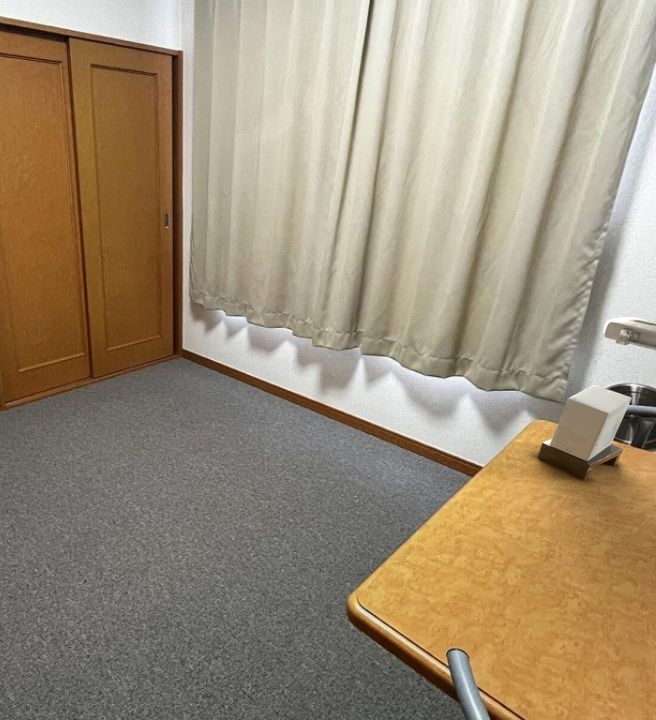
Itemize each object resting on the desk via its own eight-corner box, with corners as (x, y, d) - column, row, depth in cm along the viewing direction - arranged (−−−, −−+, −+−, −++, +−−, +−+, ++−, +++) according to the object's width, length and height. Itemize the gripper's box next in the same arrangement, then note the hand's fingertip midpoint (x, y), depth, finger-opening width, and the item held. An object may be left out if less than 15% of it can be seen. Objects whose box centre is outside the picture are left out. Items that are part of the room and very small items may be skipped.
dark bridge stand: (616, 466, 90) (623, 448, 89) (582, 482, 86) (589, 464, 85) (569, 445, 97) (575, 428, 96) (536, 459, 93) (542, 442, 91)
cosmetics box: (589, 463, 85) (609, 412, 81) (548, 446, 90) (565, 397, 86) (613, 445, 90) (634, 396, 86) (573, 429, 95) (591, 383, 91)
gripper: (629, 306, 100) (592, 316, 95) (772, 335, 83) (736, 350, 78) (619, 334, 103) (582, 346, 97) (756, 368, 86) (720, 384, 80)
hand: (651, 348), depth 88 cm, fingers open, 8 cm apart
